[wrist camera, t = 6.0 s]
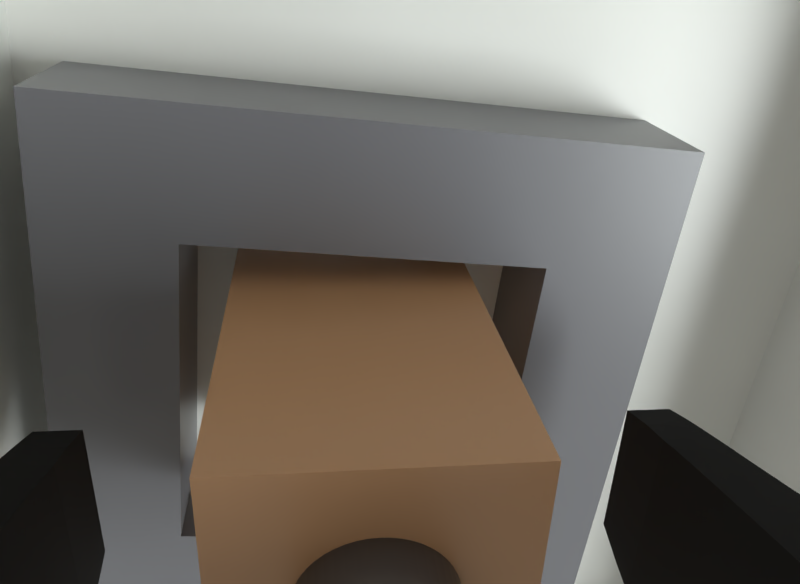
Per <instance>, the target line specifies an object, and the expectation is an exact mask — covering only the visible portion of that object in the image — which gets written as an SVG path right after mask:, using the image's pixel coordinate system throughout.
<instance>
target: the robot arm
mask: <svg viewBox="0 0 800 584" xmlns="http://www.w3.org/2000/svg"><path fill="white" fill-rule="evenodd" d="M603 524H604V527H605V530H606V533H607V536H608V539H609V542H610V545H611V548H612V551H613V555H614V558H615V561H616V563H617V566H618V569H619V572H620V574H621V577H622V580H623V583H624V584H800V494H799V493H797V492H796V491H794V490H793V489H791V488H790V487H788V486H787V485H785V484H784V483H782V482H781V481H779V480H778V479H776V478H775V477H773V476H772V475H770V474H769V473H767V472H766V471H764V470H763V469H761V468H760V467H758V466H757V465H755V464H754V463H752V462H751V461H749V460H748V459H746V458H745V457H743V456H742V455H741V454H739V453H738V452H736V451H735V450H733V449H732V448H730V447H729V446H727V445H726V444H724V443H723V442H721V441H720V440H718V439H717V438H715V437H714V436H712V435H711V434H709V433H708V432H706V431H705V430H703V429H702V428H700V427H698V426H697V425H695V424H694V423H692V422H691V421H689V420H687V419H686V418H684V417H682V416H681V415H679V414H677V413H676V412H674V411H672V410H670V409H653V410H627V414H626V419H625V423H624V428H623V433H622V438H621V442H620V447H619V452H618V457H617V462H616V466H615V471H614V476H613V481H612V485H611V490H610V495H609V500H608V504H607V509H606V514H605V519H604V523H603ZM104 555H105V547H104V541H103V536H102V531H101V525H100V520H99V514H98V509H97V504H96V498H95V493H94V487H93V482H92V477H91V471H90V466H89V460H88V455H87V450H86V444H85V439H84V434H83V430H65V431H36V432H31V433H30V434H29V435H28V436H26V437H25V438H24V439H23V440H21V441H20V442H19V443H18V444H16V445H15V446H14V447H13V448H12V449H11V450H9V451H8V452H7V453H6V454H5V455H4V456H2V457H1V458H0V584H98V583H99V579H100V574H101V569H102V564H103V559H104Z"/></svg>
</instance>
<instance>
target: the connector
mask: <svg viewBox="0 0 800 584" xmlns="http://www.w3.org/2000/svg"><path fill="white" fill-rule="evenodd" d="M560 466H561V459H560V457H559V455H558V453H557V451H556V449H555V447H554V445H553V443H552V441H551V439H550V437H549V435H548V433H547V431H546V429H545V427H544V425H543V423H542V420H541V418H540V416H539V414H538V412H537V410H536V408H535V406H534V404H533V402H532V400H531V398H530V396H529V394H528V392H527V390H526V388H525V386H524V384H523V382H522V380H521V378H520V376H519V374H518V372H517V370H516V368H515V365H514V363H513V361H512V359H511V357H510V355H509V353H508V351H507V349H506V347H505V345H504V343H503V341H502V339H501V337H500V335H499V333H498V331H497V329H496V327H495V325H494V323H493V321H492V319H491V317H490V315H489V313H488V310H487V308H486V306H485V304H484V302H483V300H482V298H481V296H480V294H479V292H478V290H477V288H476V286H475V284H474V282H473V280H472V278H471V276H470V274H469V272H468V270H467V268H466V266H465V264H464V263H455V262H439V261H424V260H409V259H394V258H379V257H364V256H349V255H334V254H318V253H303V252H288V251H273V250H258V249H243V248H238V251H237V256H236V261H235V265H234V270H233V275H232V280H231V284H230V289H229V294H228V298H227V303H226V308H225V313H224V317H223V322H222V327H221V332H220V336H219V341H218V346H217V350H216V355H215V360H214V365H213V369H212V374H211V379H210V383H209V388H208V393H207V398H206V402H205V407H204V412H203V417H202V421H201V426H200V431H199V435H198V440H197V445H196V450H195V454H194V459H193V464H192V468H191V473H190V478H189V479H190V488H191V497H192V506H193V515H194V525H195V534H196V543H197V552H198V561H199V570H200V579H201V584H541V579H542V573H543V567H544V561H545V555H546V549H547V544H548V538H549V532H550V526H551V520H552V514H553V508H554V502H555V496H556V490H557V484H558V478H559V472H560Z"/></svg>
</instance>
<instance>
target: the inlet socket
mask: <svg viewBox="0 0 800 584" xmlns="http://www.w3.org/2000/svg"><path fill="white" fill-rule="evenodd" d="M13 90H14V100H15V109H16V119H17V129H18V139H19V149H20V159H21V168H22V178H23V188H24V198H25V208H26V218H27V227H28V237H29V247H30V257H31V267H32V277H33V286H34V296H35V306H36V316H37V326H38V336H39V345H40V355H41V365H42V375H43V385H44V395H45V405H46V414H47V424H48V431H65V430H83V434H84V439H85V444H86V450H87V455H88V460H89V466H90V471H91V477H92V482H93V487H94V493H95V498H96V504H97V509H98V514H99V520H100V525H101V531H102V536H103V541H104V547H105V555H104V559H103V564H102V569H101V574H100V579H99V583H98V584H201V579H200V570H199V561H198V552H197V543H196V534H195V525H194V515H193V506H192V497H191V488H190V479H189V478H190V473H191V468H192V464H193V459H194V454H195V450H196V445H197V298H198V246H213V247H228V248H243V249H258V250H273V251H288V252H303V253H318V254H334V255H349V256H364V257H379V258H394V259H409V260H424V261H439V262H455V263H470V264H485V265H500V266H503V268H502V273H501V278H500V284H499V289H498V294H497V299H496V304H495V309H494V314H493V319H492V321H493V323H494V325H495V327H496V329H497V331H498V333H499V335H500V337H501V339H502V341H503V343H504V345H505V347H506V349H507V351H508V353H509V355H510V357H511V359H512V361H513V363H514V365H515V368H516V370H517V372H518V374H519V376H520V378H521V380H522V382H523V384H524V386H525V388H526V390H527V392H528V394H529V396H530V398H531V400H532V402H533V404H534V406H535V408H536V410H537V412H538V414H539V416H540V418H541V420H542V423H543V425H544V427H545V429H546V431H547V433H548V435H549V437H550V439H551V441H552V443H553V445H554V447H555V449H556V451H557V453H558V455H559V457H560V459H561V466H560V472H559V478H558V484H557V490H556V496H555V502H554V508H553V514H552V520H551V526H550V532H549V538H548V544H547V549H546V555H545V561H544V567H543V573H542V579H541V584H574V583H575V580H576V576H577V573H578V570H579V566H580V563H581V560H582V556H583V553H584V550H585V547H586V543H587V540H588V537H589V533H590V530H591V527H592V523H593V520H594V517H595V514H596V510H597V507H598V504H599V500H600V497H601V494H602V491H603V487H604V484H605V481H606V477H607V474H608V471H609V467H610V464H611V461H612V458H613V454H614V451H615V448H616V444H617V441H618V438H619V434H620V431H621V428H622V425H623V421H624V418H625V415H626V411H627V408H628V405H629V402H630V398H631V395H632V392H633V388H634V385H635V382H636V378H637V375H638V372H639V369H640V365H641V362H642V359H643V355H644V352H645V349H646V345H647V342H648V339H649V336H650V332H651V329H652V326H653V322H654V319H655V316H656V313H657V309H658V306H659V303H660V299H661V296H662V293H663V289H664V286H665V283H666V280H667V276H668V273H669V270H670V266H671V263H672V260H673V256H674V253H675V250H676V247H677V243H678V240H679V237H680V233H681V230H682V227H683V224H684V220H685V217H686V214H687V210H688V207H689V204H690V200H691V197H692V194H693V191H694V187H695V184H696V181H697V177H698V174H699V171H700V168H701V164H702V161H703V158H704V154H705V152H703V151H701V150H699V149H697V148H695V147H694V146H692V145H690V144H688V143H686V142H684V141H682V140H681V139H679V138H677V137H675V136H673V135H671V134H669V133H668V132H666V131H664V130H662V129H660V128H658V127H656V126H655V125H653V124H651V123H649V122H647V121H645V120H637V119H627V118H617V117H607V116H597V115H588V114H578V113H568V112H558V111H548V110H539V109H529V108H519V107H509V106H499V105H490V104H480V103H470V102H460V101H451V100H441V99H431V98H421V97H411V96H402V95H392V94H382V93H372V92H362V91H353V90H343V89H333V88H323V87H313V86H304V85H294V84H284V83H274V82H264V81H255V80H245V79H235V78H225V77H215V76H206V75H196V74H186V73H176V72H166V71H157V70H147V69H137V68H127V67H117V66H108V65H98V64H88V63H78V62H69V61H61V62H59V63H58V64H56V65H54V66H52V67H50V68H48V69H46V70H44V71H42V72H40V73H38V74H36V75H34V76H32V77H30V78H28V79H26V80H24V81H22V82H21V83H19V84H17V85H15V86H13Z"/></svg>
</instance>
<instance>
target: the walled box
mask: <svg viewBox="0 0 800 584" xmlns="http://www.w3.org/2000/svg"><path fill="white" fill-rule="evenodd" d="M61 61H69V62H78V63H88V64H98V65H108V66H117V67H127V68H137V69H147V70H157V71H166V72H176V73H186V74H196V75H206V76H215V77H225V78H235V79H245V80H255V81H264V82H274V83H284V84H294V85H304V86H313V87H323V88H333V89H343V90H353V91H362V92H372V93H382V94H392V95H402V96H411V97H421V98H431V99H441V100H451V101H460V102H470V103H480V104H490V105H499V106H509V107H519V108H529V109H539V110H548V111H558V112H568V113H578V114H588V115H597V116H607V117H617V118H627V119H637V120H645V121H647V122H649V123H651V124H653V125H655V126H656V127H658V128H660V129H662V130H664V131H666V132H668V133H669V134H671V135H673V136H675V137H677V138H679V139H681V140H682V141H684V142H686V143H688V144H690V145H692V146H694V147H695V148H697V149H699V150H701V151H703V152H705V154H704V158H703V161H702V164H701V168H700V171H699V174H698V177H697V181H696V184H695V187H694V191H693V194H692V197H691V200H690V204H689V207H688V210H687V214H686V217H685V220H684V224H683V227H682V230H681V233H680V237H679V240H678V243H677V247H676V250H675V253H674V256H673V260H672V263H671V266H670V270H669V273H668V276H667V280H666V283H665V286H664V289H663V293H662V296H661V299H660V303H659V306H658V309H657V313H656V316H655V319H654V322H653V326H652V329H651V332H650V336H649V339H648V342H647V345H646V349H645V352H644V355H643V359H642V362H641V365H640V369H639V372H638V375H637V378H636V382H635V385H634V388H633V392H632V395H631V398H630V402H629V405H628V408H627V410H653V409H670V410H672V411H674V412H676V413H677V414H679V415H681V416H682V417H684V418H686V419H687V420H689V421H691V422H692V423H694V424H695V425H697V426H698V427H700V428H702V429H703V430H705V431H706V432H708V433H709V434H711V435H712V436H714V437H715V438H717V439H718V440H720V441H721V442H723V443H724V444H726V445H727V446H729V447H730V448H732V449H733V450H735V451H736V452H738V453H739V454H741V455H742V456H743V457H745V458H746V459H748V460H749V461H751V462H752V463H754V464H755V465H757V466H758V467H760V468H761V469H763V470H764V471H766V472H767V473H769V474H770V475H772V476H773V477H775V478H776V479H778V480H779V481H781V482H782V483H784V484H785V485H787V486H788V487H790V488H791V489H793V490H794V491H796V492H797V493H799V494H800V0H0V458H1V457H2V456H4V455H5V454H6V453H7V452H8V451H9V450H11V449H12V448H13V447H14V446H15V445H16V444H18V443H19V442H20V441H21V440H23V439H24V438H25V437H26V436H28V435H29V434H30V433H31V432H36V431H48V424H47V414H46V405H45V395H44V385H43V375H42V365H41V355H40V345H39V336H38V326H37V316H36V306H35V296H34V286H33V277H32V267H31V257H30V247H29V237H28V227H27V218H26V208H25V198H24V188H23V178H22V168H21V159H20V149H19V139H18V129H17V119H16V109H15V100H14V90H13V86H15V85H17V84H19V83H21V82H22V81H24V80H26V79H28V78H30V77H32V76H34V75H36V74H38V73H40V72H42V71H44V70H46V69H48V68H50V67H52V66H54V65H56V64H58V63H59V62H61ZM237 251H238V248H228V247H213V246H198V298H197V440H198V435H199V431H200V426H201V421H202V417H203V412H204V407H205V402H206V398H207V393H208V388H209V383H210V379H211V374H212V369H213V365H214V360H215V355H216V350H217V346H218V341H219V336H220V332H221V327H222V322H223V317H224V313H225V308H226V303H227V298H228V294H229V289H230V284H231V280H232V275H233V270H234V265H235V261H236V256H237ZM464 264H465V266H466V268H467V270H468V272H469V274H470V276H471V278H472V280H473V282H474V284H475V286H476V288H477V290H478V292H479V294H480V296H481V298H482V300H483V302H484V304H485V306H486V308H487V310H488V313H489V315H490V317H491V319H493V314H494V309H495V304H496V299H497V294H498V289H499V284H500V278H501V273H502V268H503V266H500V265H485V264H470V263H464ZM626 414H627V411H626ZM625 419H626V415H625V418H624V421H623V425H622V428H621V431H620V434H619V438H618V441H617V444H616V448H615V451H614V454H613V458H612V461H611V464H610V467H609V471H608V474H607V477H606V481H605V484H604V487H603V491H602V494H601V497H600V500H599V504H598V507H597V510H596V514H595V517H594V520H593V523H592V527H591V530H590V533H589V537H588V540H587V543H586V547H585V550H584V553H583V556H582V560H581V563H580V566H579V570H578V573H577V576H576V580H575V583H574V584H624V583H623V580H622V577H621V574H620V572H619V569H618V566H617V563H616V561H615V558H614V555H613V551H612V548H611V545H610V542H609V539H608V536H607V533H606V530H605V527H604V524H603V523H604V519H605V514H606V509H607V504H608V500H609V495H610V490H611V485H612V481H613V476H614V471H615V466H616V462H617V457H618V452H619V447H620V442H621V438H622V433H623V428H624V423H625Z"/></svg>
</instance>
